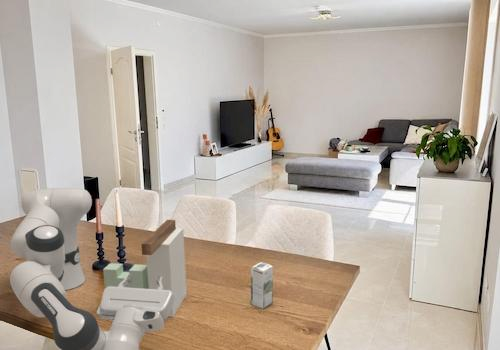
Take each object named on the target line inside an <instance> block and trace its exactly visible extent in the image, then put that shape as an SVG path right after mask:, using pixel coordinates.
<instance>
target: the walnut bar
mask: <svg viewBox="0 0 500 350" xmlns="http://www.w3.org/2000/svg"><path fill="white" fill-rule="evenodd" d="M176 228H177V227H176V219H166V220H165V221H164V222H163V223H162V224H161V225H160V226H159V227H158V228H156V229H155V230H154V231H153V233H151V234H150V236H148V237H147V238H146V239H145V240H144V241H143V242H141V245H140V246H141V254H142V256H146V255H152V254H153V253H154V252H155V251H156V250H157V249H158V248H159V247H160V245H161V244H162V243H163V242H164V241H165V240H166V239H167V238H168V237H169V236H170V235H171V234H172V233H173V231H174V230H175V229H176Z"/></svg>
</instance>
